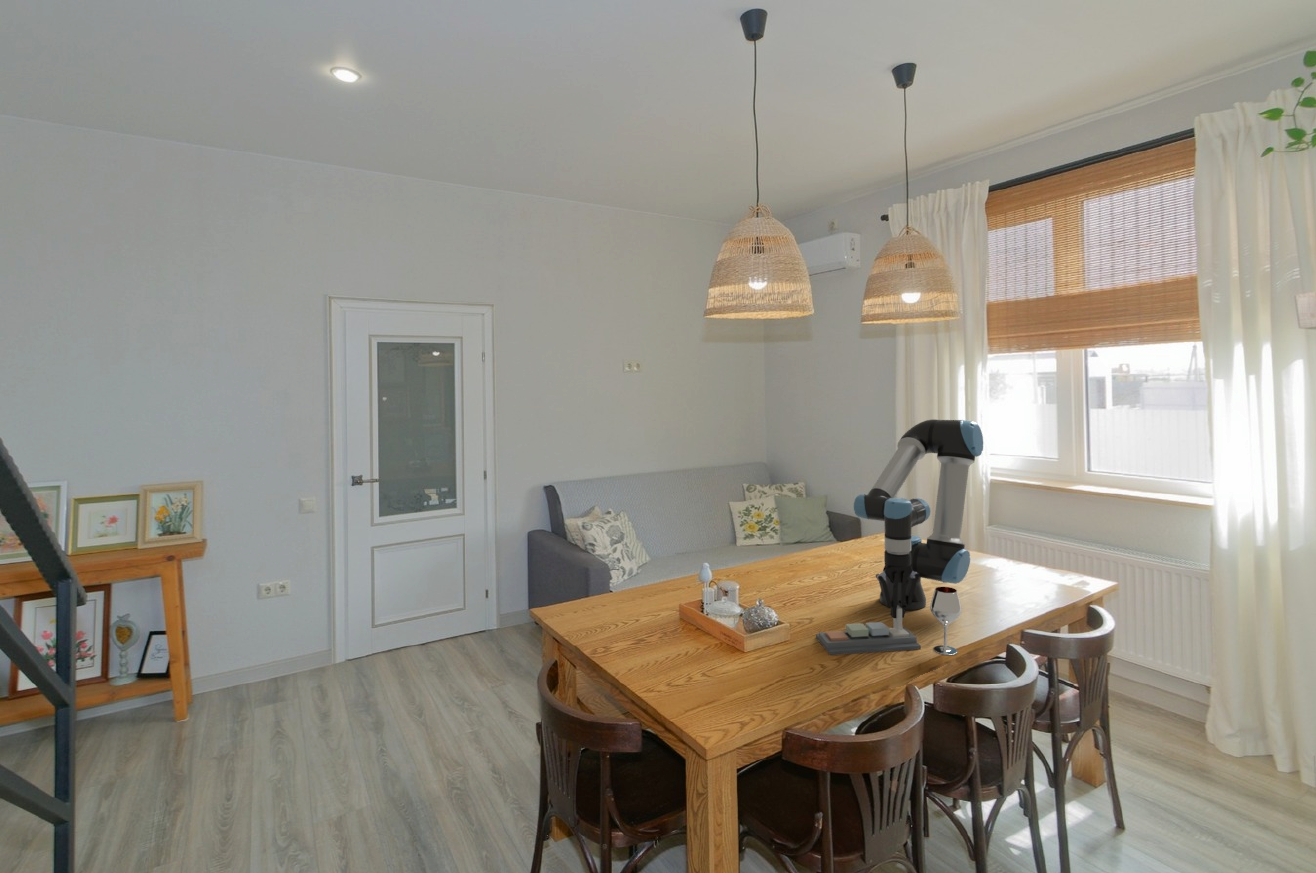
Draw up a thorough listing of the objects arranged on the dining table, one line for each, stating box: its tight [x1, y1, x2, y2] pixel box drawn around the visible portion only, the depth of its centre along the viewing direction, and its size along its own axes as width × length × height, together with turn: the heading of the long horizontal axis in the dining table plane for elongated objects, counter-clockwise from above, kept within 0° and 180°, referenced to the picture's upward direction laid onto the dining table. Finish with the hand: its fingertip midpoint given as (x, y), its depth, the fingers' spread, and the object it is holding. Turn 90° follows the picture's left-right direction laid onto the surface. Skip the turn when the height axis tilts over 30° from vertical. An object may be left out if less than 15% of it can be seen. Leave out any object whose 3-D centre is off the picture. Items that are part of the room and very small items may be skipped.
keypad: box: [815, 626, 922, 656], centre depth 200 cm, size 27×13×2 cm, turn 95°
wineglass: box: [929, 586, 962, 656], centre depth 193 cm, size 8×8×18 cm
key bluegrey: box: [865, 621, 890, 636], centre depth 200 cm, size 5×5×2 cm
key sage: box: [845, 622, 868, 637], centre depth 200 cm, size 5×5×2 cm
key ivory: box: [888, 627, 909, 637], centre depth 201 cm, size 5×5×2 cm
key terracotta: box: [825, 630, 848, 641], centre depth 199 cm, size 5×5×2 cm
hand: (897, 627), depth 201 cm, fingers closed
